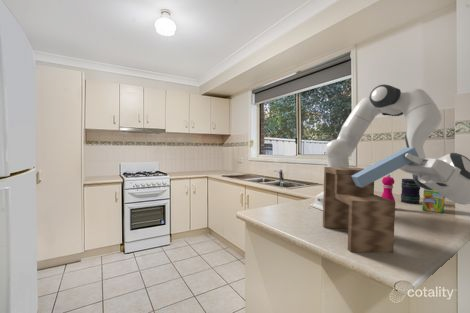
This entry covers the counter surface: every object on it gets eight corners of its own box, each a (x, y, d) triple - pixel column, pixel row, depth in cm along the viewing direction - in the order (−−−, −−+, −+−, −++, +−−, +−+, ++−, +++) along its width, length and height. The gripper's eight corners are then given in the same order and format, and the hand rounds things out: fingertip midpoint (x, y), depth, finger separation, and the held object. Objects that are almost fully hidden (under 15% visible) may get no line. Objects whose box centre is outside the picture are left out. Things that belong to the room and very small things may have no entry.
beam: (410, 157, 83) (405, 147, 83) (419, 157, 79) (414, 147, 79) (356, 185, 84) (351, 176, 84) (362, 187, 80) (356, 177, 80)
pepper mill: (389, 210, 129) (391, 175, 128) (377, 207, 136) (378, 173, 135) (397, 209, 133) (398, 174, 132) (384, 206, 139) (385, 173, 138)
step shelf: (354, 226, 101) (356, 167, 100) (393, 252, 76) (396, 174, 75) (322, 226, 101) (324, 167, 100) (350, 251, 76) (353, 173, 75)
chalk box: (422, 210, 131) (423, 184, 130) (422, 207, 138) (423, 182, 137) (444, 213, 125) (445, 186, 124) (443, 210, 132) (445, 184, 131)
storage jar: (405, 203, 146) (406, 180, 146) (397, 200, 156) (398, 178, 155) (423, 204, 144) (424, 181, 144) (413, 201, 154) (415, 178, 154)
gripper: (415, 164, 92) (385, 146, 92) (466, 169, 71) (428, 146, 71) (406, 178, 92) (377, 160, 92) (455, 187, 72) (417, 164, 72)
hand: (400, 154), depth 81 cm, fingers closed on beam, 4 cm apart
